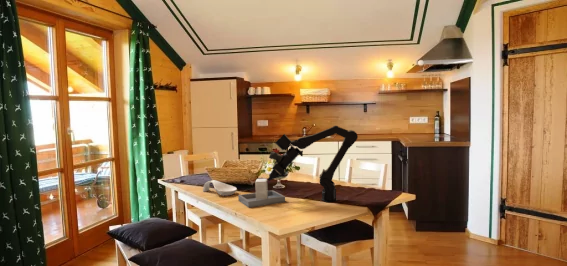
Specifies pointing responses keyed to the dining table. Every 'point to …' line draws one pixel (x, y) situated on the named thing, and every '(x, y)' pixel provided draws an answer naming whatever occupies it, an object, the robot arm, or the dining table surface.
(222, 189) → the spoon rest
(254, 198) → the tray
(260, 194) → the small box
